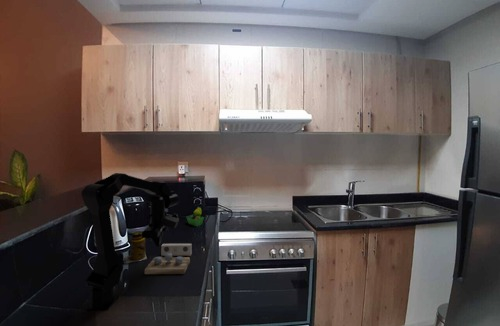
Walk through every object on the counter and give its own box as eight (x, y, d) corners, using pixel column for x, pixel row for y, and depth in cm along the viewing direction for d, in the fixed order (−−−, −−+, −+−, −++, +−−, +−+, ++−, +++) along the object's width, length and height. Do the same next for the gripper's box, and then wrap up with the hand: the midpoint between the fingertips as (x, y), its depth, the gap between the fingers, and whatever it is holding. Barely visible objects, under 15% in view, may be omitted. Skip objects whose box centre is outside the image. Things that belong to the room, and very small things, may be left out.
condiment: (147, 258, 101) (146, 233, 101) (126, 263, 97) (126, 237, 96) (144, 252, 108) (144, 229, 107) (125, 257, 103) (124, 232, 102)
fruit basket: (185, 223, 152) (185, 207, 152) (196, 220, 159) (196, 205, 158) (195, 227, 145) (195, 210, 144) (206, 224, 152) (206, 208, 151)
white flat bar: (190, 255, 105) (190, 245, 105) (161, 255, 104) (161, 245, 104) (191, 253, 107) (191, 243, 107) (162, 253, 107) (162, 243, 106)
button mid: (170, 265, 92) (170, 256, 92) (163, 265, 92) (163, 256, 92) (173, 261, 95) (173, 252, 95) (166, 262, 95) (166, 252, 95)
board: (184, 273, 89) (184, 269, 89) (144, 274, 89) (144, 269, 89) (189, 261, 99) (189, 257, 99) (154, 261, 99) (154, 257, 99)
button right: (181, 268, 93) (181, 259, 93) (174, 269, 93) (174, 259, 92) (183, 265, 96) (183, 256, 96) (176, 265, 96) (176, 256, 95)
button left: (160, 269, 92) (160, 259, 92) (153, 269, 92) (153, 259, 92) (162, 265, 95) (162, 256, 95) (155, 265, 95) (155, 256, 95)
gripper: (169, 217, 84) (170, 256, 85) (182, 205, 102) (182, 237, 103) (140, 217, 83) (141, 256, 84) (158, 205, 102) (159, 237, 103)
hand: (158, 246), depth 93 cm, fingers closed
